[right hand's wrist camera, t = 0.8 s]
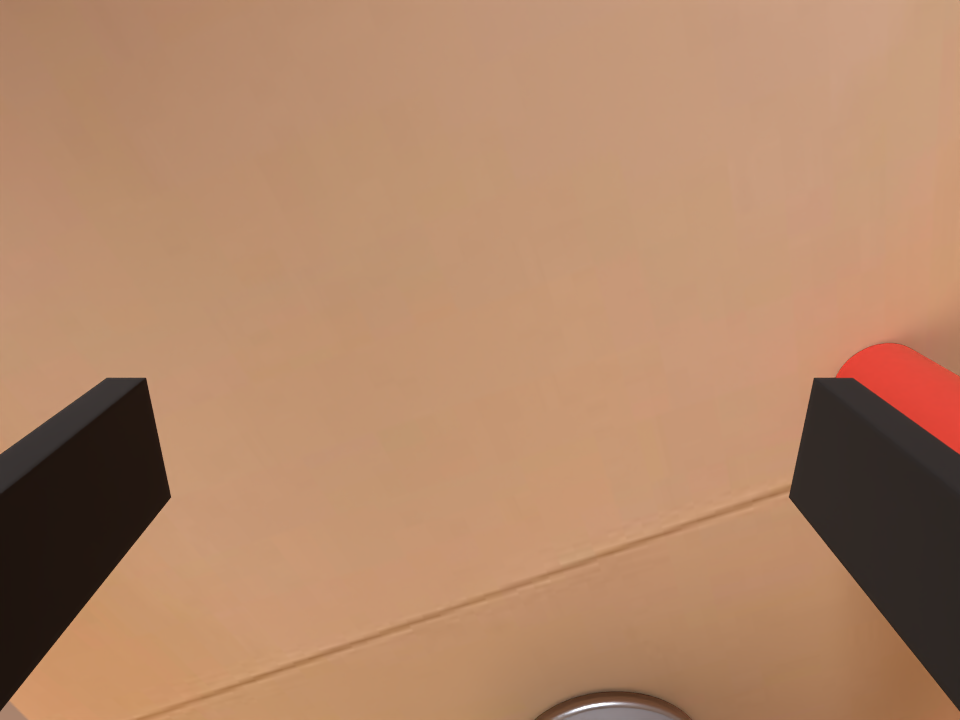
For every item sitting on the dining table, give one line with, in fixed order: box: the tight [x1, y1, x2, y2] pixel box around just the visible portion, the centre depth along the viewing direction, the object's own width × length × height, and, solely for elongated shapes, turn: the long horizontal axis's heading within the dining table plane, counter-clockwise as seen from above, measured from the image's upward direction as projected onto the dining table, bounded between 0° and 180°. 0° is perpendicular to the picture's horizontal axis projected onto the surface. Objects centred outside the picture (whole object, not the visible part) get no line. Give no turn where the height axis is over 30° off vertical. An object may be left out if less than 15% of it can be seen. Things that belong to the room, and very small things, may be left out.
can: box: [836, 343, 960, 454], centre depth 33 cm, size 6×6×11 cm
